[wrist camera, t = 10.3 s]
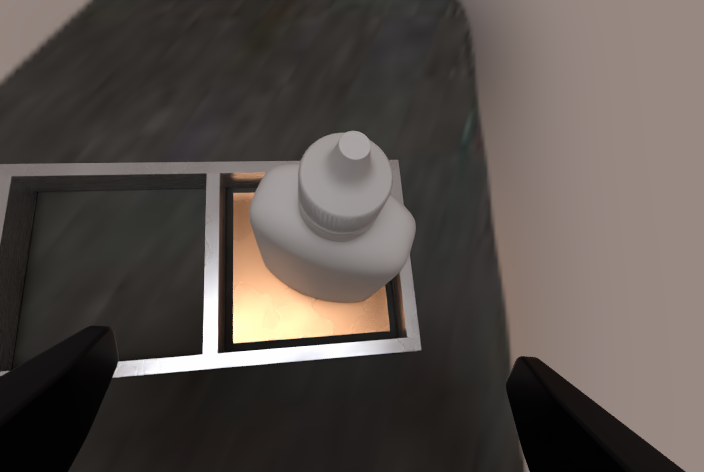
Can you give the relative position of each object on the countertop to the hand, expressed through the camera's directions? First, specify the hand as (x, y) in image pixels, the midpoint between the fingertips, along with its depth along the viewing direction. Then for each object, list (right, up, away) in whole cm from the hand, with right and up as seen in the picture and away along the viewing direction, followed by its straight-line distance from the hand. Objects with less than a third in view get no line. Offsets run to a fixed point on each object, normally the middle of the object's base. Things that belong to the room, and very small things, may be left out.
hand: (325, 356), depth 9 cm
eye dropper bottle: (-1, +1, +11) cm, 11 cm away
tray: (-6, +1, +11) cm, 12 cm away
